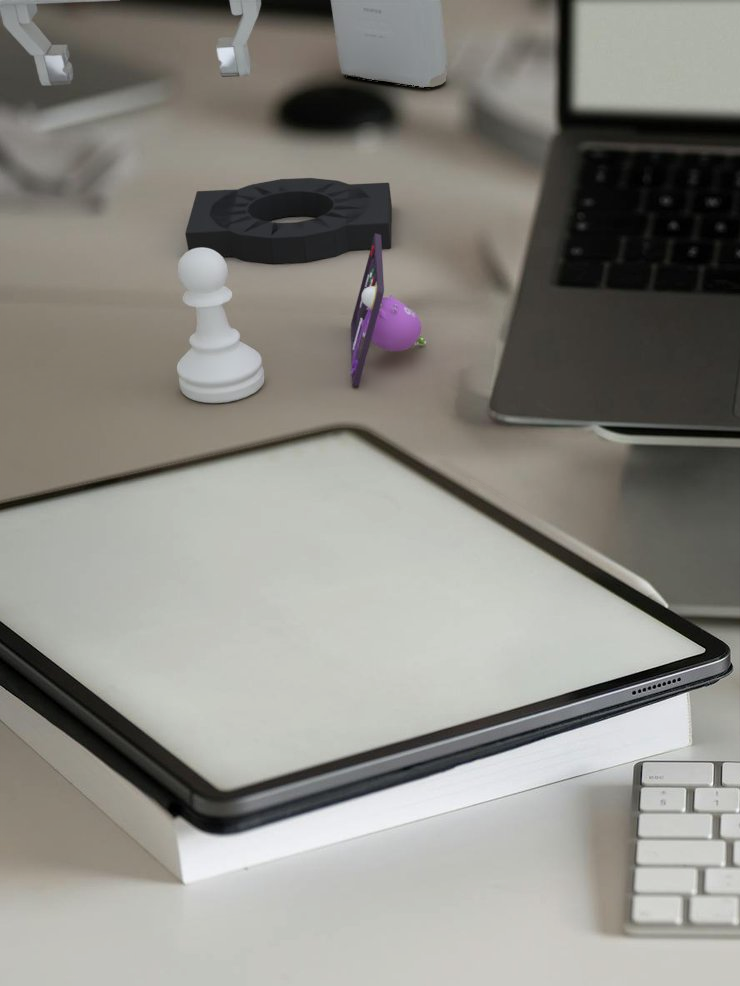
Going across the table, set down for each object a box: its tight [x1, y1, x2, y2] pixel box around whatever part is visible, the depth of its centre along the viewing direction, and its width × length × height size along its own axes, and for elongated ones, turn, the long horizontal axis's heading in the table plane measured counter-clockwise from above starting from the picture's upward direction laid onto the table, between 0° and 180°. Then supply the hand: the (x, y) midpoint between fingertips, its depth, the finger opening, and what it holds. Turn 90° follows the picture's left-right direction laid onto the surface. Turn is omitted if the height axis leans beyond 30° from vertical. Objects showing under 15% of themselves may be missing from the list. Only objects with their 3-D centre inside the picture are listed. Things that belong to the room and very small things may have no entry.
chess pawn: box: [176, 248, 266, 404], centre depth 102 cm, size 5×5×9 cm
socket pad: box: [185, 177, 393, 265], centre depth 125 cm, size 14×11×2 cm
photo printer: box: [330, 0, 448, 88], centre depth 152 cm, size 10×4×12 cm, turn 69°
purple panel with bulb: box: [350, 233, 427, 387], centre depth 108 cm, size 7×5×9 cm
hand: (148, 77), depth 94 cm, fingers open, 8 cm apart
